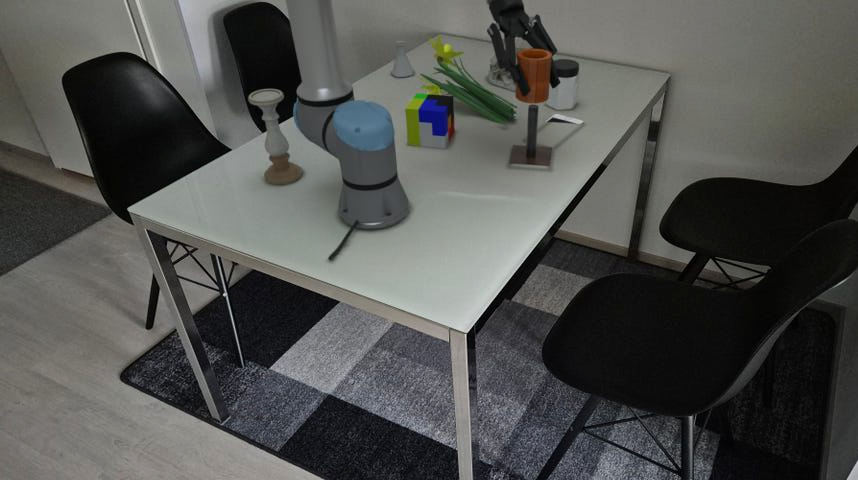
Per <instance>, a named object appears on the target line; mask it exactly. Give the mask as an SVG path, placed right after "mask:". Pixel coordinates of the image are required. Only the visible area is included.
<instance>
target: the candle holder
mask: <svg viewBox="0 0 858 480" xmlns="http://www.w3.org/2000/svg"><path fill="white" fill-rule="evenodd" d="M284 99H285V95H284V92H283V91H282V90H280V89H276V88H263V89H257V90H255V91H253V92H251V93H249V95H248V97H247V100H248V102H249V104H251V105H253V106H257V107H258V108H259V109H261V111H262V116H261V120H262V121H264V123H265V128H266V137H265V140H264V149H265V151H266V152H267V154H269V155H268V160H269V161H270V162H271V163H272V164H271V165H270V166H269V167H268V168H267V169H266V170H265V171H264V173H263V178H264V180H265V181H266V182H267V183H269V184H271V185H277V186H279V185H288V184H291V183H294V182H296V181H298V180H299V179H300V178H301V177H302V175H303V170H302V168H301V166H299V165H298V164H295V162H292V161H289V160H290V157H291V154H290V153H289V152H288V151H289V149H290V143H289V141H288V139H287V138H286V136H285V135H284V134H283V132H282V130H281V127H280V125H279V120H278V119H280V115H279V113H278V112H277V110H276V108H277V106H278V104H279V103H280V102H282V101H284Z"/></svg>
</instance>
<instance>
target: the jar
mask: <svg viewBox="0 0 858 480" xmlns="http://www.w3.org/2000/svg"><path fill="white" fill-rule="evenodd" d="M553 60H554V63H555V65H556V67H557V70H556V73H557V75H558V77H559V80H560V82H561V83H560V84H559V85H558V86H557V87H556V88H553V89H552V87H551V84H550V85H549V97H548V100H546V106H548V107H550V108H552V109H554V110H556V111H564V110H573V109H574V107H575V106H576V105H577V101H578V93H579V92H578V91H579V82H580V63H579V62H578V61H577V60H573V59H570V58H569V59H568V58H559V59H553Z"/></svg>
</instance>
